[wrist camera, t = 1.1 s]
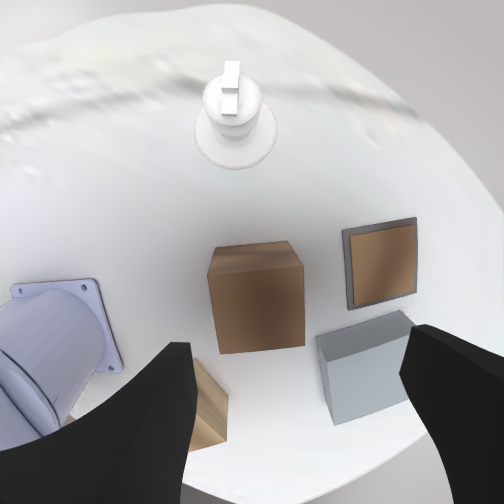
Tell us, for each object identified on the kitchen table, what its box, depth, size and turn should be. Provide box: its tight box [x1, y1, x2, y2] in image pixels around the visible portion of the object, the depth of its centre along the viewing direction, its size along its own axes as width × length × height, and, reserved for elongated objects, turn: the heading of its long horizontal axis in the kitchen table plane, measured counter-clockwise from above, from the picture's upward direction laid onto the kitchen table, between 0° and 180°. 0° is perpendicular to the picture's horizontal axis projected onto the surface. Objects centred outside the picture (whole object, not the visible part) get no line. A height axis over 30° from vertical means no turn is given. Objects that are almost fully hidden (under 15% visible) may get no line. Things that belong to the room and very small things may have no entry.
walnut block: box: [207, 241, 305, 354], centre depth 17 cm, size 4×4×5 cm
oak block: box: [188, 358, 228, 452], centre depth 19 cm, size 4×4×5 cm
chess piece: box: [194, 61, 277, 170], centre depth 12 cm, size 5×5×10 cm
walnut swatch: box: [342, 217, 418, 311], centre depth 19 cm, size 6×6×1 cm
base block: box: [316, 310, 416, 426], centre depth 20 cm, size 7×7×4 cm
